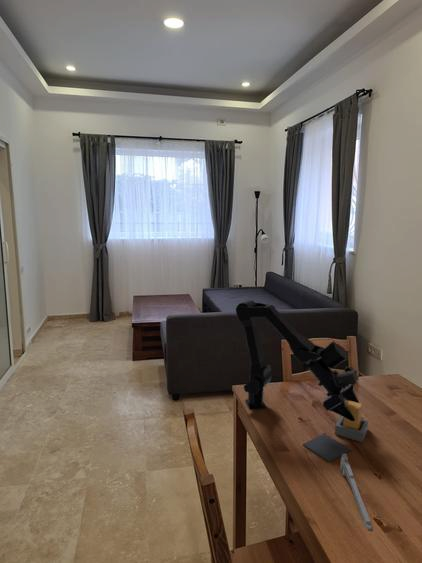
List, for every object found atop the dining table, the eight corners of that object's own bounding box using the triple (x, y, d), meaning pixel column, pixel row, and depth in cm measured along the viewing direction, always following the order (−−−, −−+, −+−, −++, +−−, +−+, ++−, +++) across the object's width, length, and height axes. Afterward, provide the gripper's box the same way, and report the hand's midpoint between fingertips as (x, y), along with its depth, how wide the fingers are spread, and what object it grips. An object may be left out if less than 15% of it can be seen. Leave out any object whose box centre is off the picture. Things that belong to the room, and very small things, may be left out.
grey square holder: (334, 434, 122) (335, 425, 122) (341, 422, 129) (341, 414, 129) (362, 442, 118) (363, 433, 117) (367, 429, 125) (368, 421, 124)
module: (342, 433, 123) (344, 405, 121) (346, 426, 127) (347, 400, 125) (357, 437, 120) (359, 409, 119) (360, 430, 124) (361, 403, 123)
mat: (302, 445, 116) (302, 443, 116) (324, 434, 122) (324, 433, 122) (329, 462, 108) (329, 460, 108) (351, 450, 114) (351, 448, 113)
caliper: (340, 471, 105) (341, 450, 104) (343, 471, 105) (345, 450, 104) (367, 530, 85) (369, 506, 84) (372, 531, 85) (374, 506, 84)
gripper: (335, 371, 114) (371, 415, 110) (349, 352, 130) (382, 390, 126) (308, 389, 120) (342, 432, 115) (325, 369, 135) (356, 406, 131)
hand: (357, 414), depth 122 cm, fingers open, 9 cm apart
